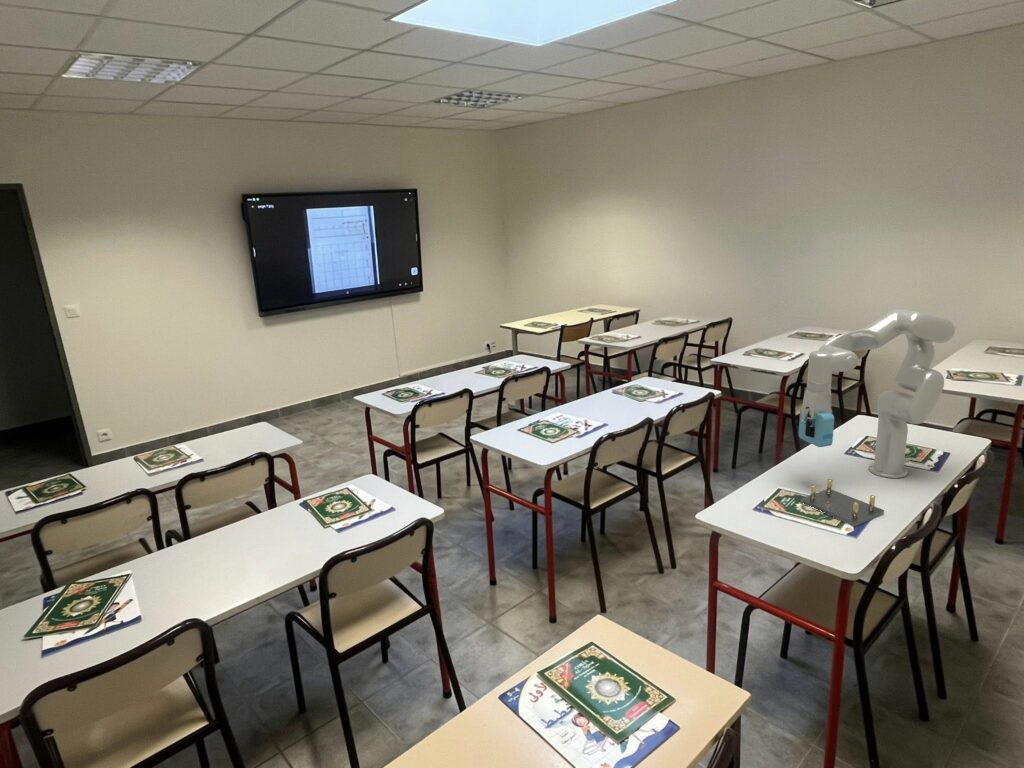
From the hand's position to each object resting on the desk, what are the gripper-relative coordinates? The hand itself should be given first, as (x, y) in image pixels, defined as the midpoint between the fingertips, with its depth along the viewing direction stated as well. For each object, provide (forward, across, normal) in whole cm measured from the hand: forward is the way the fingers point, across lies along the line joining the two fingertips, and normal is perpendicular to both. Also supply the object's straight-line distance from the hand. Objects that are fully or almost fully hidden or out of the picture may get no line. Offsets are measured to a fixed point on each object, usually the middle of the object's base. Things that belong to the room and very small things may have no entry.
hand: (815, 434), depth 219 cm
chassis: (+20, +7, +17) cm, 27 cm away
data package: (+3, 0, 0) cm, 3 cm away
